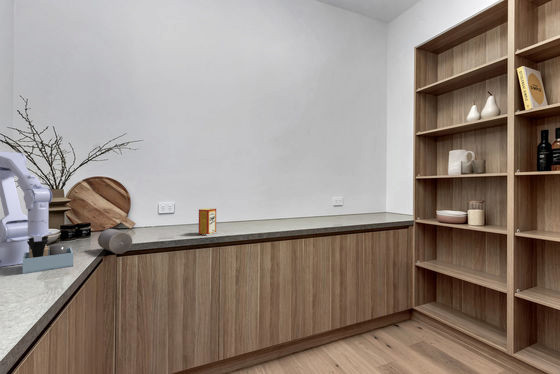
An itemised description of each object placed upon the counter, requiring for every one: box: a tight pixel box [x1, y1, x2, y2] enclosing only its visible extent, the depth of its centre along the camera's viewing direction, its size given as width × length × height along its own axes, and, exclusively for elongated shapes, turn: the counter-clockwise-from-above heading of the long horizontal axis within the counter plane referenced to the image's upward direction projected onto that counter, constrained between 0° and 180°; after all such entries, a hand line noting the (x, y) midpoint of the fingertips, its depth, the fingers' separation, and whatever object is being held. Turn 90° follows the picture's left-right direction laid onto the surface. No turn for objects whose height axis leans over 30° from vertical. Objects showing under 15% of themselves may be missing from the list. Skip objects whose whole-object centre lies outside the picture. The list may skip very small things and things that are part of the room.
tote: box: [22, 246, 74, 275], centre depth 101 cm, size 14×12×5 cm
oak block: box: [29, 246, 50, 258], centre depth 99 cm, size 5×5×5 cm
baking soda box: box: [198, 207, 217, 235], centre depth 169 cm, size 10×6×16 cm
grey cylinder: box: [48, 243, 68, 256], centre depth 103 cm, size 5×5×7 cm
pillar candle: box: [97, 228, 133, 255], centre depth 124 cm, size 10×10×15 cm
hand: (38, 257), depth 99 cm, fingers closed on oak block, 5 cm apart
